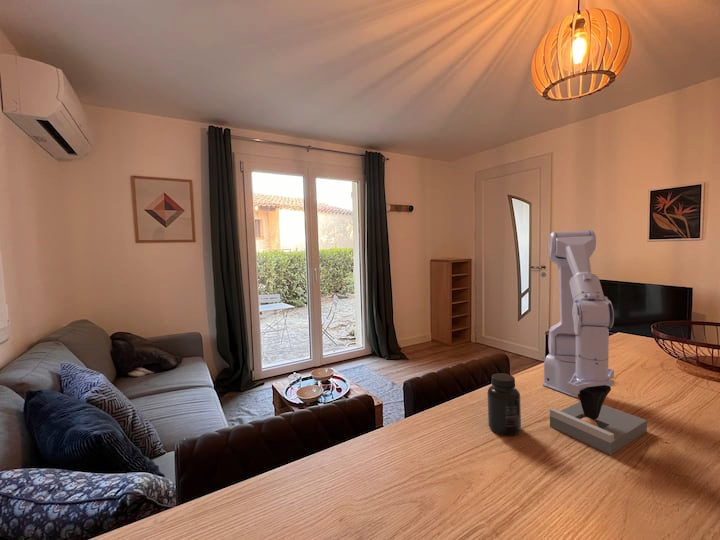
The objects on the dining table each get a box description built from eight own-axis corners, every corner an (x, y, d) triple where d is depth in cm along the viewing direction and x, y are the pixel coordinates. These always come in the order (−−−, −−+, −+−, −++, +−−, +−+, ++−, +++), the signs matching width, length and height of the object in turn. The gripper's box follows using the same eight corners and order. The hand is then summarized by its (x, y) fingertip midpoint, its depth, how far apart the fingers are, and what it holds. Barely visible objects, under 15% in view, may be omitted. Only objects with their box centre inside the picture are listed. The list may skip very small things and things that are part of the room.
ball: (574, 418, 71) (583, 412, 73) (576, 433, 72) (585, 427, 73) (591, 424, 68) (600, 418, 70) (593, 440, 68) (603, 434, 70)
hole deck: (549, 426, 74) (549, 409, 74) (586, 408, 81) (586, 392, 81) (610, 455, 64) (610, 435, 63) (646, 431, 71) (647, 413, 70)
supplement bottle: (520, 423, 76) (520, 373, 75) (521, 439, 70) (521, 385, 69) (488, 418, 79) (488, 369, 78) (487, 433, 73) (486, 381, 72)
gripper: (593, 369, 63) (593, 436, 64) (630, 354, 70) (629, 415, 71) (557, 358, 69) (557, 420, 70) (594, 345, 76) (593, 402, 77)
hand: (591, 416), depth 71 cm, fingers closed
